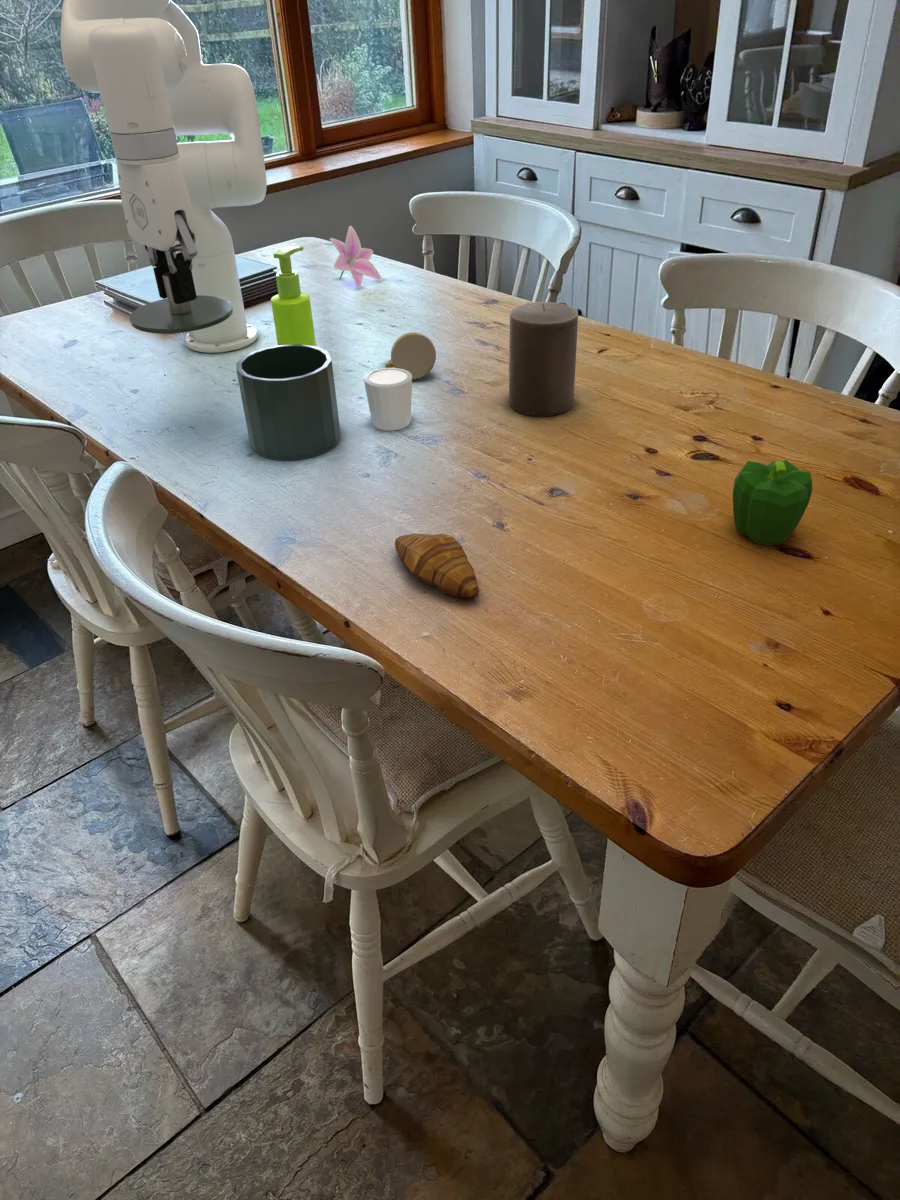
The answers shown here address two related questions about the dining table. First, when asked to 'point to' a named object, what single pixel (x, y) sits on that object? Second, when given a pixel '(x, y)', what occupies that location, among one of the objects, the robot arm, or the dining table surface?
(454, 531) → the dining table surface
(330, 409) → the canister
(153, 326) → the lid
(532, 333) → the pillar candle
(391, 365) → the mug
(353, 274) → the lily
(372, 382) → the white cup
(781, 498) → the bell pepper
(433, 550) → the croissant
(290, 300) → the soap dispenser
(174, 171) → the robot arm
